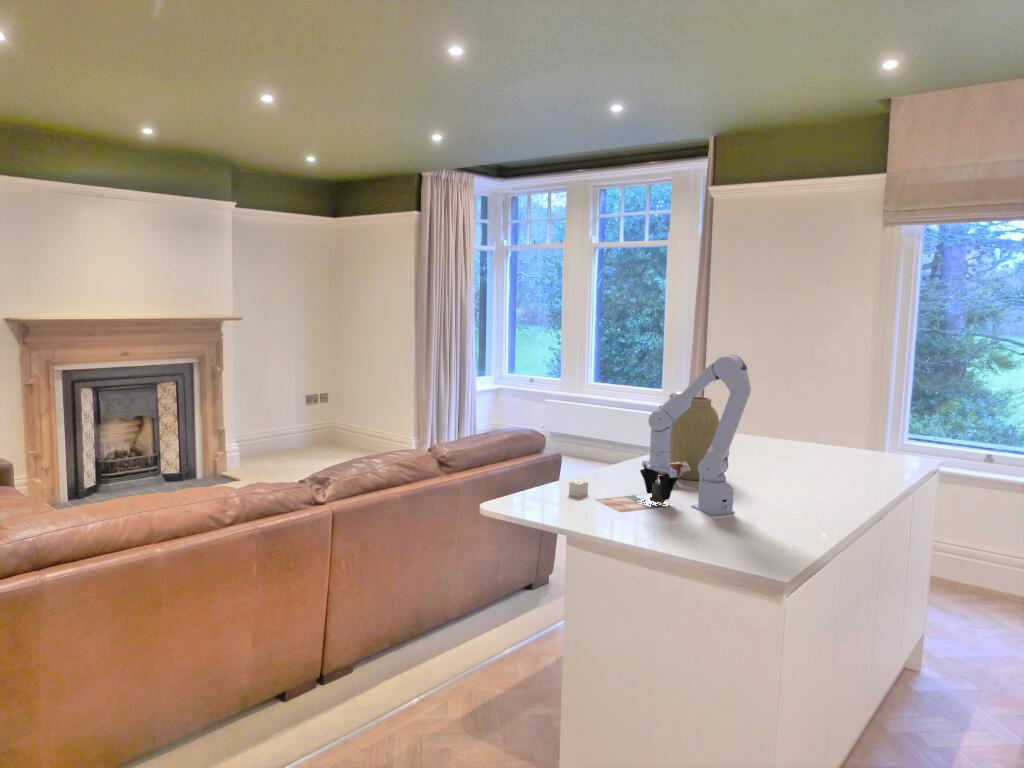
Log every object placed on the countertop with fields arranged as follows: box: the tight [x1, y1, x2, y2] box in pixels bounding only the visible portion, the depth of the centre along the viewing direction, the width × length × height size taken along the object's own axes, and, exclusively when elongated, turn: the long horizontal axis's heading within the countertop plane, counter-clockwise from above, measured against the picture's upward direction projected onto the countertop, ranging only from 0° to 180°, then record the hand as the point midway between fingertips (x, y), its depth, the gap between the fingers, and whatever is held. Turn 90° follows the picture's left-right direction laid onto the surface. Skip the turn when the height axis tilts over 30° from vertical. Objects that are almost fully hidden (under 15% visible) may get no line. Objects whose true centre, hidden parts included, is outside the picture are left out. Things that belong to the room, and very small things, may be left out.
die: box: [568, 479, 589, 498], centre depth 214 cm, size 4×4×4 cm
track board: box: [594, 494, 673, 513], centre depth 206 cm, size 14×20×1 cm
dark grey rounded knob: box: [650, 481, 665, 502], centre depth 209 cm, size 4×4×5 cm
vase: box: [669, 396, 720, 481], centre depth 241 cm, size 17×17×27 cm
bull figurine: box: [656, 462, 691, 487], centre depth 228 cm, size 4×13×8 cm, turn 78°
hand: (657, 496), depth 209 cm, fingers open, 7 cm apart
